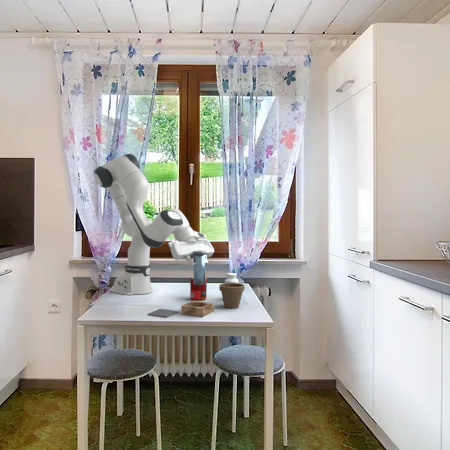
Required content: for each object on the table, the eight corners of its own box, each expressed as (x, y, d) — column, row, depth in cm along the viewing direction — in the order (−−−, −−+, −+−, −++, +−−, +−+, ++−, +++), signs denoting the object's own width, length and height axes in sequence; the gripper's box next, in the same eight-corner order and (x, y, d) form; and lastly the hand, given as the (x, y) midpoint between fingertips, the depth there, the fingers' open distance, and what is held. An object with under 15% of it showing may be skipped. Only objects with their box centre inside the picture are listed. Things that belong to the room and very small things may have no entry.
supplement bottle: (238, 298, 197) (238, 272, 196) (238, 301, 190) (238, 275, 189) (224, 298, 197) (225, 272, 196) (224, 301, 190) (224, 274, 190)
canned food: (204, 301, 189) (204, 278, 189) (188, 300, 191) (188, 277, 190) (208, 297, 197) (208, 275, 196) (192, 296, 198) (192, 274, 198)
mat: (148, 314, 164) (148, 313, 164) (160, 309, 173) (160, 308, 173) (166, 317, 161) (166, 316, 161) (178, 312, 169) (178, 311, 169)
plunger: (190, 284, 168) (190, 251, 167) (196, 281, 173) (196, 250, 172) (202, 285, 165) (202, 252, 165) (208, 282, 171) (208, 251, 170)
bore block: (181, 314, 167) (181, 305, 166) (192, 308, 176) (192, 300, 176) (202, 317, 163) (203, 308, 163) (213, 311, 172) (213, 303, 172)
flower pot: (228, 302, 188) (228, 281, 188) (248, 306, 182) (249, 284, 181) (213, 307, 179) (214, 285, 178) (234, 311, 172) (235, 288, 172)
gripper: (169, 236, 166) (183, 262, 160) (207, 234, 180) (221, 258, 173) (163, 245, 170) (176, 271, 163) (201, 243, 183) (215, 266, 177)
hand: (200, 264), depth 168 cm, fingers closed on plunger, 5 cm apart
